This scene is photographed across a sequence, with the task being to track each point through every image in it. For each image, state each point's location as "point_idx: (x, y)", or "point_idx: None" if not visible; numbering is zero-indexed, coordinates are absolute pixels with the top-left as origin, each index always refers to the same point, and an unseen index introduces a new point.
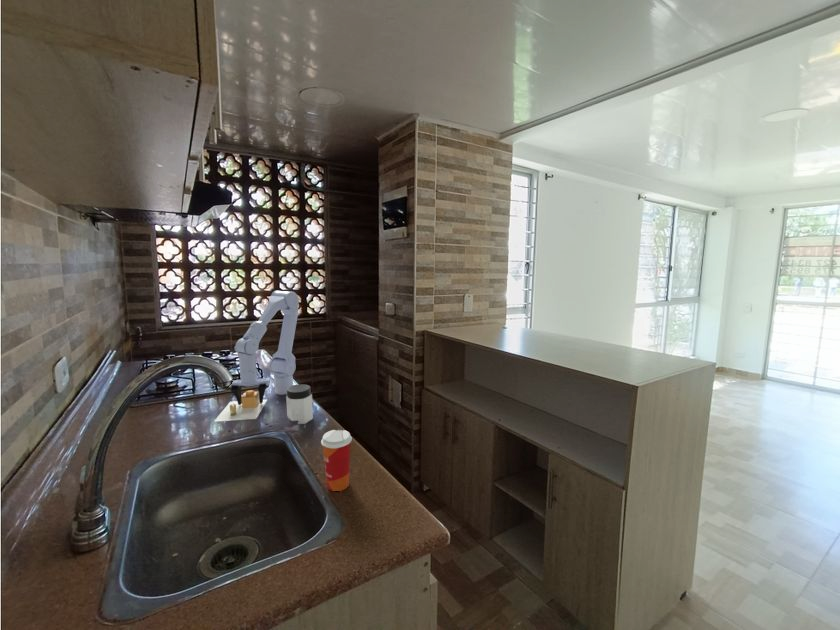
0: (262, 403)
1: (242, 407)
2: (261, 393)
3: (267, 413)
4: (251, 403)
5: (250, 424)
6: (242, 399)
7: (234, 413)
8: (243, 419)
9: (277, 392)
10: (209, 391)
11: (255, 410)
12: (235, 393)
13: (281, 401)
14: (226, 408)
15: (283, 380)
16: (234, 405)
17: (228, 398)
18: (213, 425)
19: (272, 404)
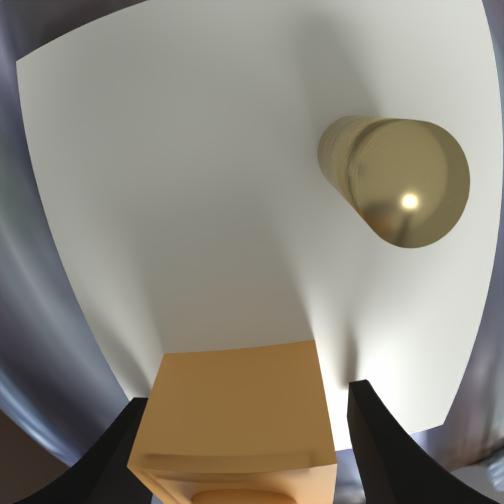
0: None
1: (312, 345)
2: (69, 482)
3: (50, 271)
4: (200, 387)
5: (82, 18)
6: (317, 430)
7: (336, 129)
8: (139, 6)
9: (152, 499)
10: (500, 462)
11: (120, 276)
12: (434, 495)
13: (101, 435)
14: (466, 323)
15: None
16: (383, 186)
17: (443, 453)
18: None
19: None
